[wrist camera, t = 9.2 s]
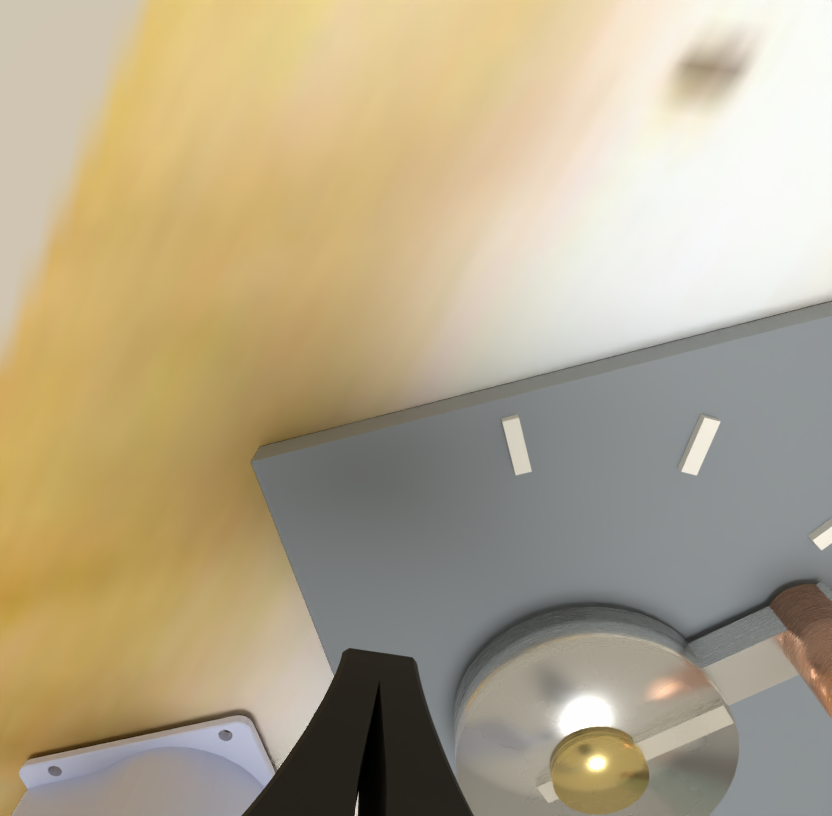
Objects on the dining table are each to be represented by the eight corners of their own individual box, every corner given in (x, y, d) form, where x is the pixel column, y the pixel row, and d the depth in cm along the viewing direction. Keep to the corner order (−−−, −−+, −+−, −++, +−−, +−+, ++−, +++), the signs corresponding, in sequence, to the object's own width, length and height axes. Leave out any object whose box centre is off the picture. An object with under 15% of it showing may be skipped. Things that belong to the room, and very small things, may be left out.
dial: (531, 843, 26) (557, 1014, 21) (404, 680, 23) (398, 828, 18) (885, 694, 23) (1017, 847, 18) (785, 491, 21) (906, 602, 15)
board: (433, 903, 29) (434, 943, 28) (259, 446, 22) (247, 467, 20) (905, 820, 27) (934, 858, 26) (881, 288, 20) (919, 298, 18)
